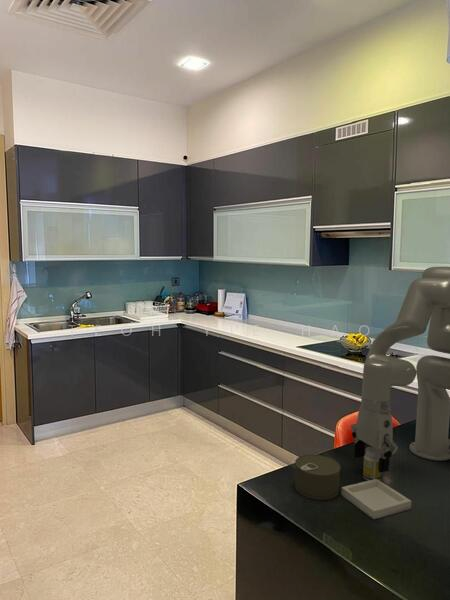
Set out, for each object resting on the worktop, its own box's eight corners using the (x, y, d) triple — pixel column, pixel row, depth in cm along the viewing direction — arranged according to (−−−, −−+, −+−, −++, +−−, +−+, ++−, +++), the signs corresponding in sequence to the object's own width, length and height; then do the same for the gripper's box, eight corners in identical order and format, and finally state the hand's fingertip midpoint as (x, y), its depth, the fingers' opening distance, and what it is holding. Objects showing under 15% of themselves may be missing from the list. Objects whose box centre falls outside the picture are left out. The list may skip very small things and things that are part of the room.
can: (349, 493, 118) (350, 468, 118) (314, 505, 112) (316, 479, 112) (318, 473, 129) (319, 451, 128) (285, 483, 122) (286, 459, 122)
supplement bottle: (378, 474, 129) (379, 446, 128) (382, 482, 124) (384, 453, 123) (361, 473, 129) (362, 445, 128) (364, 481, 124) (366, 452, 124)
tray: (376, 486, 122) (376, 478, 122) (410, 508, 111) (411, 500, 111) (341, 494, 117) (341, 487, 117) (373, 519, 106) (374, 511, 106)
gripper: (409, 413, 118) (404, 475, 119) (364, 394, 134) (360, 450, 135) (387, 416, 115) (383, 480, 116) (344, 396, 131) (340, 453, 132)
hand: (370, 463), depth 126 cm, fingers open, 9 cm apart
